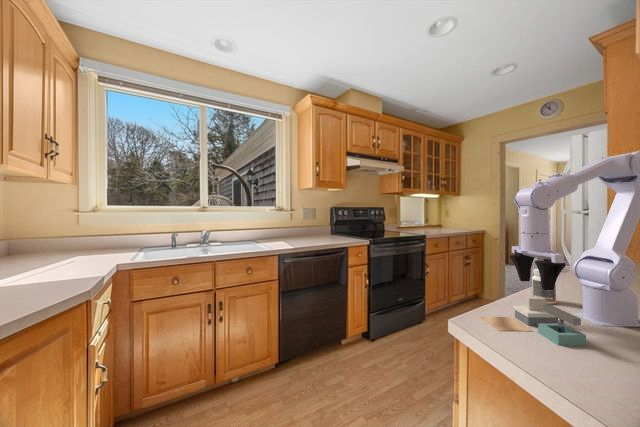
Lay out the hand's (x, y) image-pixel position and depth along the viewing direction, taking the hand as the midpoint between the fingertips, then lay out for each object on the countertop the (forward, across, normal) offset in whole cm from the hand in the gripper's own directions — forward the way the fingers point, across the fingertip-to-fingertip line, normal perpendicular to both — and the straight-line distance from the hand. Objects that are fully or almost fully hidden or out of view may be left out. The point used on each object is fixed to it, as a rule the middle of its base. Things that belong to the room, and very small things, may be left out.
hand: (535, 285), depth 66 cm
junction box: (+10, 0, 0) cm, 10 cm away
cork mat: (+10, +1, -8) cm, 13 cm away
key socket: (+10, +9, -1) cm, 13 cm away
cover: (+7, 0, 0) cm, 7 cm away
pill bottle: (+10, -16, +14) cm, 23 cm away
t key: (+10, +9, -1) cm, 13 cm away
